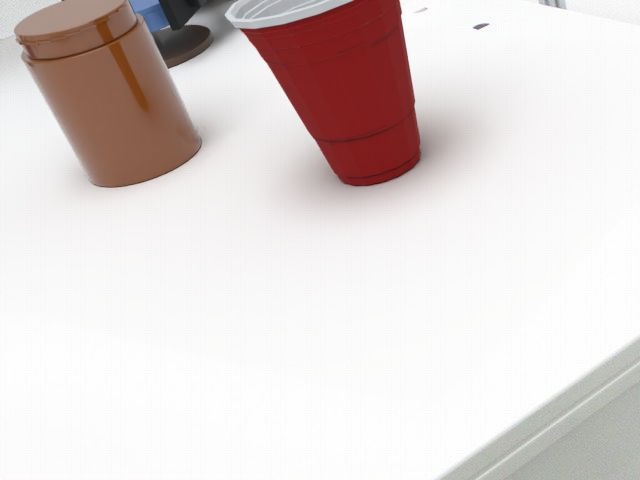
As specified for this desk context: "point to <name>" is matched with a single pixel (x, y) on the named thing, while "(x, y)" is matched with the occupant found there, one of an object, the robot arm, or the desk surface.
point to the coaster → (182, 43)
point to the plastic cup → (342, 78)
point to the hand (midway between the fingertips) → (115, 23)
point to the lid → (151, 13)
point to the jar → (108, 89)
